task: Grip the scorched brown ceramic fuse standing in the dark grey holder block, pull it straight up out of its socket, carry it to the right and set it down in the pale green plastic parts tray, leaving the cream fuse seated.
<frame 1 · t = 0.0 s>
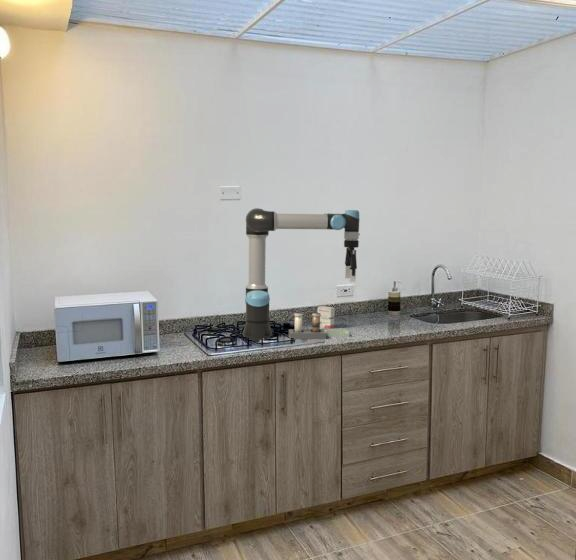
hand: (350, 280, 318), 28 cm above the worktop, fingers open, 13 cm apart
fuse block: (307, 338, 304), on the worktop
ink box: (325, 328, 329), on the worktop
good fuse: (298, 337, 304), point 1 cm above the worktop, touching fuse block
parts tray: (336, 336, 311), on the worktop
blown fuse: (315, 336, 305), point 1 cm above the worktop, touching fuse block
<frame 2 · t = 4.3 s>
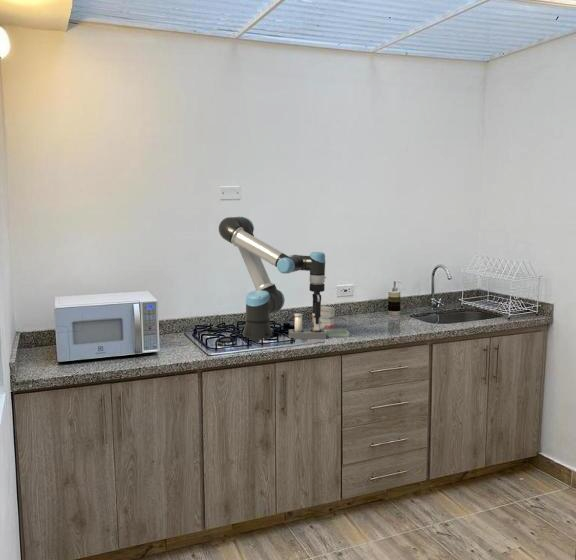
hand: (316, 328, 304), 5 cm above the worktop, fingers closed on blown fuse, 4 cm apart
blown fuse: (315, 336, 305), point 1 cm above the worktop, touching fuse block, gripper
everything else where it was.
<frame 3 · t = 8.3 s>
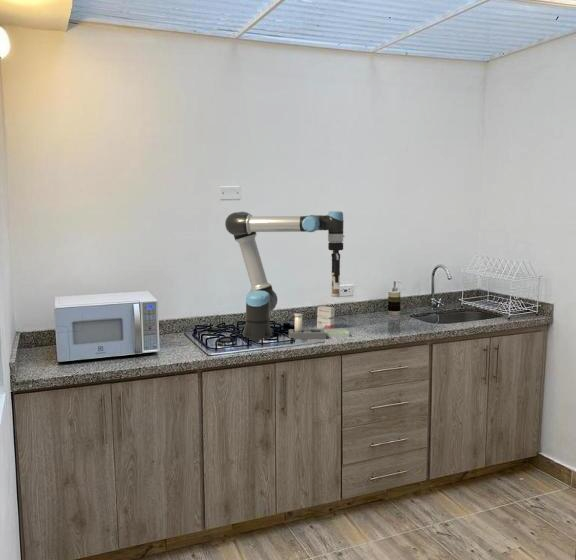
hand: (335, 288, 306), 25 cm above the worktop, fingers closed on blown fuse, 4 cm apart
blown fuse: (335, 296, 306), point 21 cm above the worktop, touching gripper
everything else where it was.
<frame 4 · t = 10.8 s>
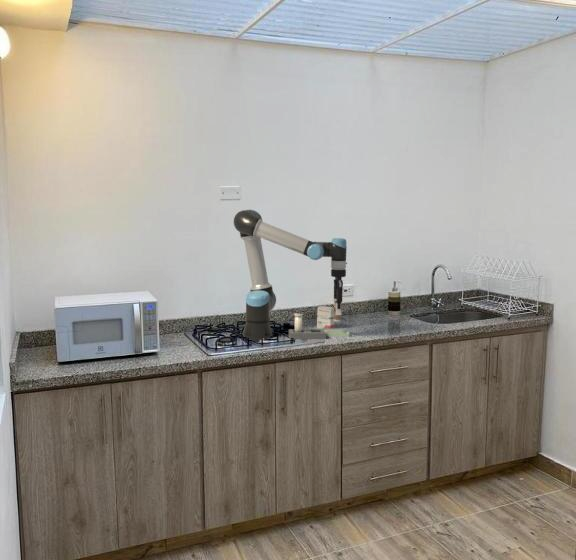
hand: (337, 313, 309), 12 cm above the worktop, fingers closed on blown fuse, 4 cm apart
blown fuse: (337, 321, 310), point 8 cm above the worktop, touching gripper
everything else where it was.
when the fingers open (6 cm above the worktop, at t = 12.7 s): blown fuse drops 1 cm, resting on parts tray.
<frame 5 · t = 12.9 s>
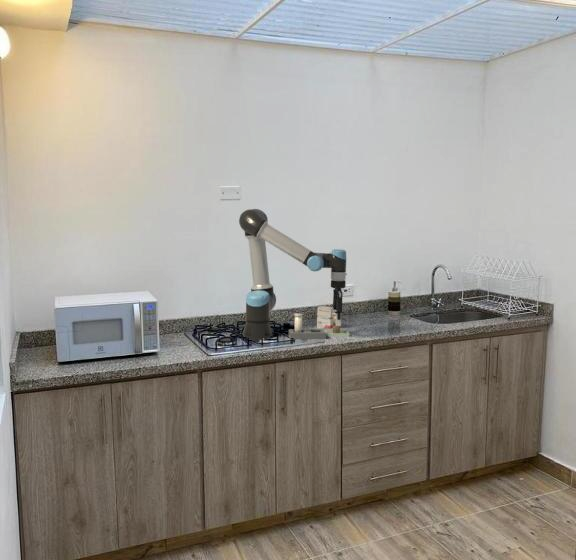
hand: (337, 323, 310), 7 cm above the worktop, fingers open, 7 cm apart
blown fuse: (336, 335, 311), point 1 cm above the worktop, touching parts tray
everything else where it was.
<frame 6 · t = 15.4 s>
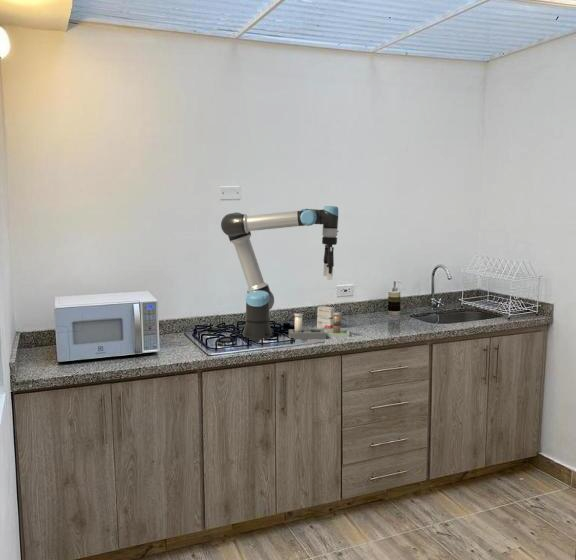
hand: (327, 277, 309), 30 cm above the worktop, fingers open, 13 cm apart
nothing on the worktop moved.
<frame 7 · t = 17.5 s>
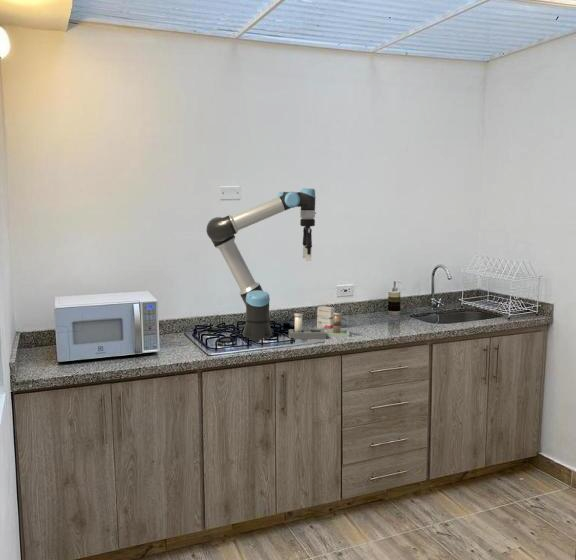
hand: (306, 259, 315), 39 cm above the worktop, fingers open, 13 cm apart
nothing on the worktop moved.
at the end: blown fuse inside the target area on the parts tray (0.0 cm from its centre), point 0.6 cm above the parts tray's base; blown fuse touching parts tray; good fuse moved 0.1 cm from its start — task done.
